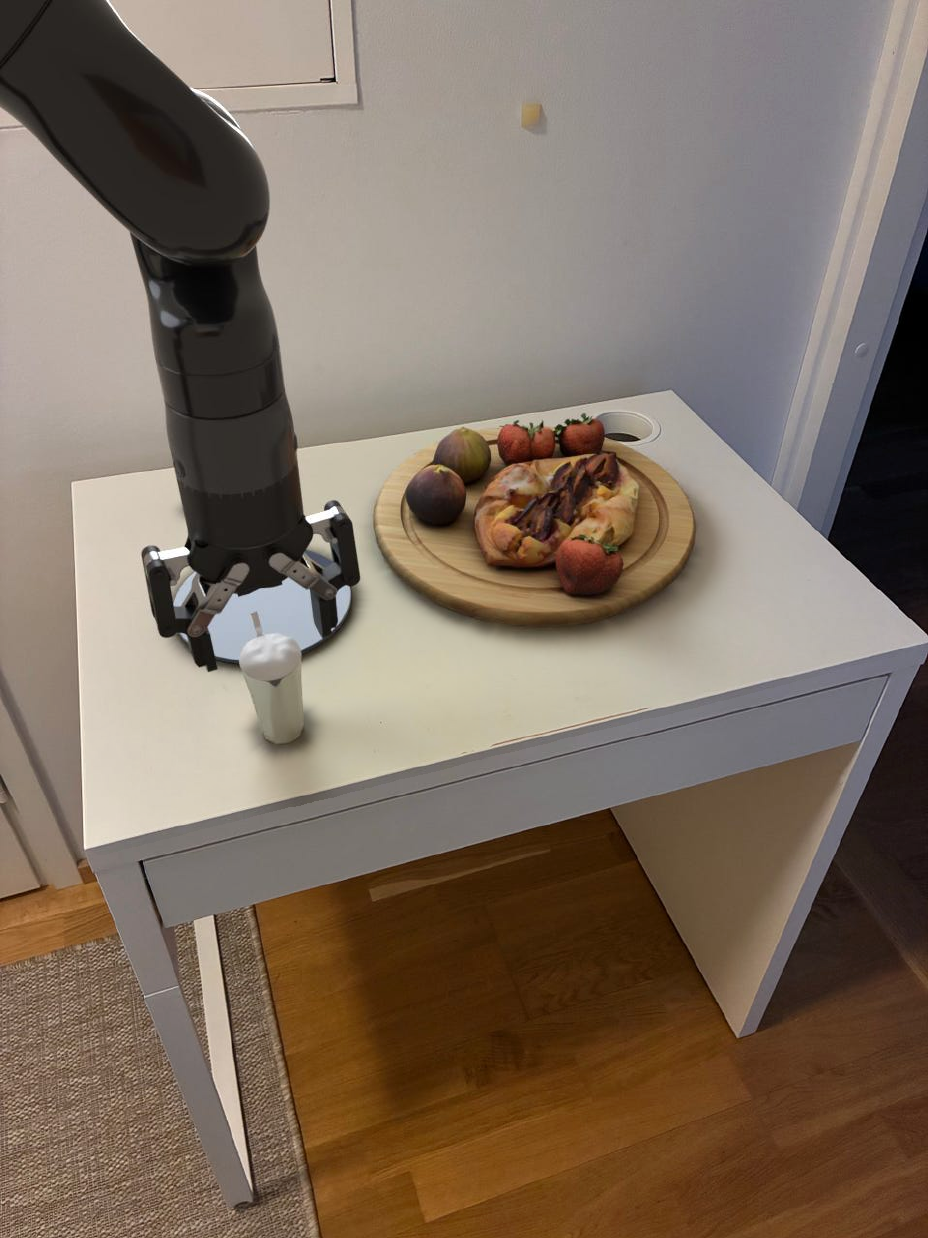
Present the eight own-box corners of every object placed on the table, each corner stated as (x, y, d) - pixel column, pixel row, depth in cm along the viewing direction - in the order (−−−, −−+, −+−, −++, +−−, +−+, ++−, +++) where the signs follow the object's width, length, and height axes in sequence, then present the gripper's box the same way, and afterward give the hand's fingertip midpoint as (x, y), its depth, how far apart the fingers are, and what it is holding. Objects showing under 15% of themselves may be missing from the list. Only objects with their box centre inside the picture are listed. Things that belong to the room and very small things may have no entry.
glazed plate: (198, 688, 80) (197, 683, 79) (155, 577, 90) (154, 572, 90) (377, 632, 85) (377, 627, 84) (317, 533, 95) (317, 528, 95)
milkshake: (297, 694, 79) (283, 603, 72) (319, 739, 75) (306, 647, 69) (244, 712, 78) (224, 620, 71) (264, 758, 74) (245, 666, 67)
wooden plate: (731, 627, 86) (750, 554, 80) (373, 641, 84) (367, 567, 78) (655, 437, 109) (665, 371, 104) (374, 445, 108) (370, 378, 102)
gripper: (324, 405, 64) (341, 591, 75) (107, 451, 60) (158, 642, 70) (364, 460, 59) (376, 651, 70) (130, 515, 55) (181, 711, 65)
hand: (267, 647), depth 70 cm, fingers open, 8 cm apart
